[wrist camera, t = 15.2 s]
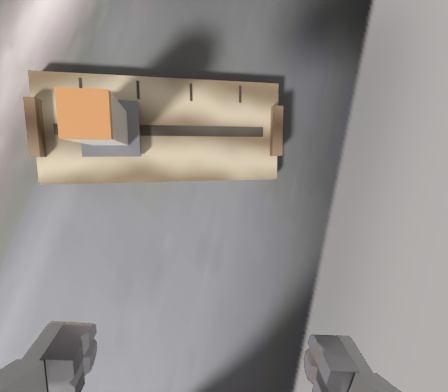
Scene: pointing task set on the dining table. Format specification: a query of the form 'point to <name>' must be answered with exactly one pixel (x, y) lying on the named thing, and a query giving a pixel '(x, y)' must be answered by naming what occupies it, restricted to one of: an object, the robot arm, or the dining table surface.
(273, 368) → the dining table surface
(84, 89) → the fader handle
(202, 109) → the fader console
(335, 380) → the robot arm
